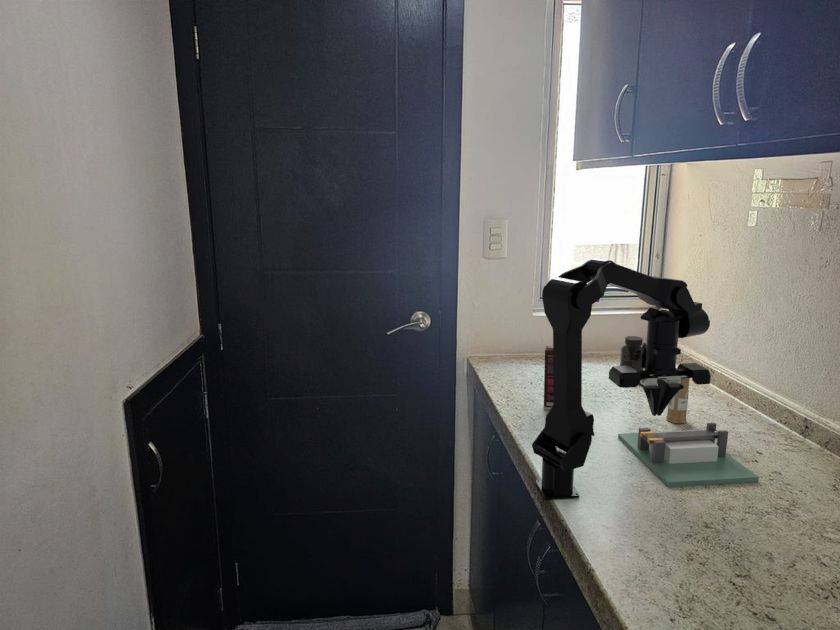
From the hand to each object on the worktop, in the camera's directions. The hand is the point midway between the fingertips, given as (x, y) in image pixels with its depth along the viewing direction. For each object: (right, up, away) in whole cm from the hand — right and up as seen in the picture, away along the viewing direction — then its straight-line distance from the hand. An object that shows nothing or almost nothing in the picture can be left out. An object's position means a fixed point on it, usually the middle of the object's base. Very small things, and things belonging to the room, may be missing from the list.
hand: (656, 415), depth 117 cm
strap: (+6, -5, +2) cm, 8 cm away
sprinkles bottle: (+14, -5, +22) cm, 26 cm away
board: (+7, -9, +3) cm, 12 cm away
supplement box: (-12, -4, +30) cm, 33 cm away
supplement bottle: (+15, +2, +54) cm, 56 cm away
